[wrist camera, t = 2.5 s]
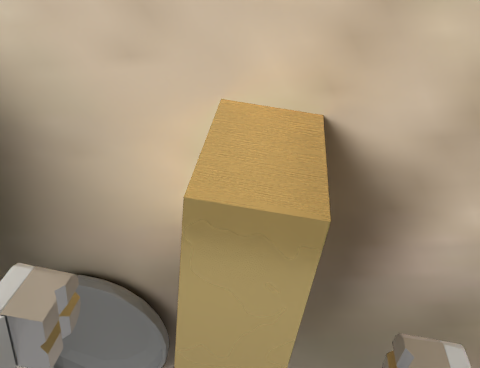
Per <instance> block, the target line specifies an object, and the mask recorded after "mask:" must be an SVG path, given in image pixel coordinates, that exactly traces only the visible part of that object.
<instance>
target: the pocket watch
mask: <svg viewBox="0 0 480 368" xmlns="http://www.w3.org/2000/svg"><path fill="white" fill-rule="evenodd" d="M78 282H79V285H78V287H77V289H76V291H75V292H76V293H77V294H78V295H79V296H80V302H81V305H80V313H79V316H78V319H77V323H76V325H75V327H74V329H73V331H72V333H71V334H69V335H68V336H66V337H65V338H63V339H62V342H63V350H62V352H61V353H60V355H59V357H58V359H57V361H56V363H55V364H54V366H53V368H162V367H163V366H164V364H165V362H166V359H167V353H168V349H169V337H168V333H167V329H166V328H165V326H164V324H163V322H162V321H161V319H160V317H159V315H158V314H157V313H156V312H155V311H154V310H153V309H152V308H151V307H150V306H149V305H148V304H147V303H146V302H145V301H144V300H143V299H142V298H140V297H138V296H137V295H135V294H134V293H132V292H130V291H129V290H127V289H126V288H124V287H122V286H119V285H117V284H114V283H111V282H109V281H106V280H103V279H98V278H94V277H89V276H85V275H78Z"/></svg>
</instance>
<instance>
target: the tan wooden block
mask: <svg viewBox="0 0 480 368" xmlns="http://www.w3.org/2000/svg"><path fill="white" fill-rule="evenodd" d="M330 223H331V218H330V204H329V190H328V176H327V162H326V148H325V134H324V120H323V115H318V114H312V113H306V112H299V111H293V110H287V109H281V108H274V107H268V106H262V105H256V104H249V103H243V102H237V101H231V100H224V99H221V101H220V104H219V106H218V109H217V111H216V114H215V117H214V119H213V122H212V125H211V127H210V130H209V132H208V135H207V138H206V140H205V143H204V146H203V148H202V151H201V153H200V156H199V159H198V161H197V164H196V167H195V169H194V172H193V174H192V177H191V180H190V182H189V185H188V187H187V190H186V193H185V195H184V202H183V220H182V238H181V256H180V274H179V292H178V309H177V327H176V345H175V363H174V368H287V367H288V363H289V360H290V357H291V353H292V350H293V346H294V343H295V340H296V336H297V333H298V330H299V326H300V323H301V320H302V316H303V313H304V310H305V306H306V303H307V300H308V296H309V293H310V290H311V286H312V283H313V280H314V276H315V273H316V270H317V266H318V263H319V259H320V256H321V253H322V249H323V246H324V243H325V239H326V236H327V233H328V229H329V226H330Z"/></svg>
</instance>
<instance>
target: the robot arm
mask: <svg viewBox="0 0 480 368" xmlns="http://www.w3.org/2000/svg"><path fill="white" fill-rule="evenodd" d="M78 285H79V282H78V275H75V274H72V273H67V272H62V271H58V270H53V269H48V268H43V267H39V266H33V265H28V264H23V263H17V264H15V265H14V266H12V267H11V268H10V270H9V271H8V272H7V273H6V275H5V276H4V277H3V278H2V280H1V281H0V368H16V366H21V367H27V368H53V366H54V364H55V363H56V361H57V359H58V357H59V355H60V353H61V352H62V350H63V342H62V339H63V338H65V337H66V336H68V335H69V334H71V333H72V331H73V329H74V327H75V325H76V323H77V319H78V316H79V313H80V305H81V302H80V296H79V295H78V294H77V293H76V292H75V291H76V289H77V287H78ZM392 344H393V349H394V350H393V351H391V352H389V353H387V354H386V357H385V359H384V361H383V365H382V368H471V365H470V362H469V360H468V357H467V354H466V351H465V349H464V347H463V346H462V345H461V344H458V343H452V342H446V341H441V340H440V341H439V340H437V339H431V338H425V337H419V336H413V335H407V334H402V333H399V334H397V335H396V336H395V338H394V340H393V342H392Z"/></svg>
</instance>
